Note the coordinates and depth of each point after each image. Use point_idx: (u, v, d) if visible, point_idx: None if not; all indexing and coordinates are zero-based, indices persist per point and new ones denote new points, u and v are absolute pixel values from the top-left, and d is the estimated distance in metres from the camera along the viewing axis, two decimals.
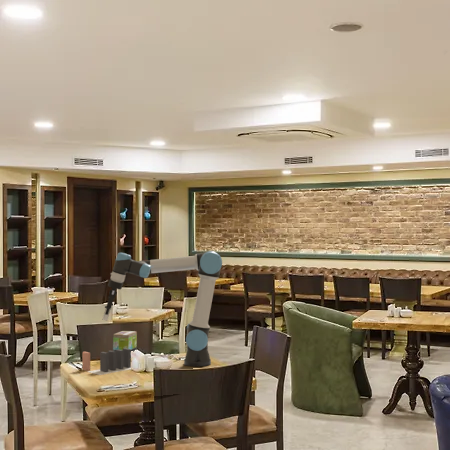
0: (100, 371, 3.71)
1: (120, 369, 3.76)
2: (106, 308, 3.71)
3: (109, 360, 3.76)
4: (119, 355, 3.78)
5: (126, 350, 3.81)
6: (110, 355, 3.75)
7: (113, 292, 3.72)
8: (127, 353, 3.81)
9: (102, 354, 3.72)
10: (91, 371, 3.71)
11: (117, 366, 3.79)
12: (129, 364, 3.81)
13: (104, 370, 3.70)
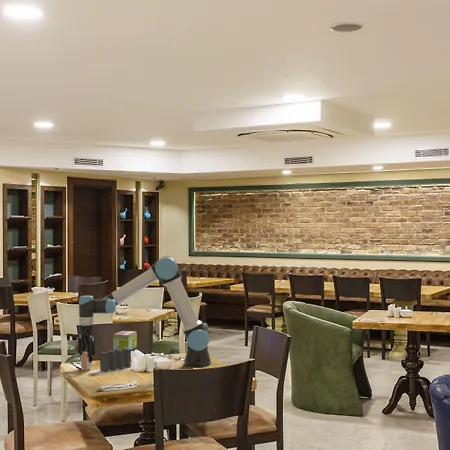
0: (100, 371, 3.71)
1: (120, 369, 3.76)
2: None
3: (109, 360, 3.76)
4: (119, 355, 3.78)
5: (126, 350, 3.81)
6: (110, 355, 3.75)
7: (93, 339, 3.71)
8: (127, 353, 3.81)
9: (102, 354, 3.72)
10: (91, 371, 3.71)
11: (117, 366, 3.79)
12: (129, 364, 3.81)
13: (104, 370, 3.70)
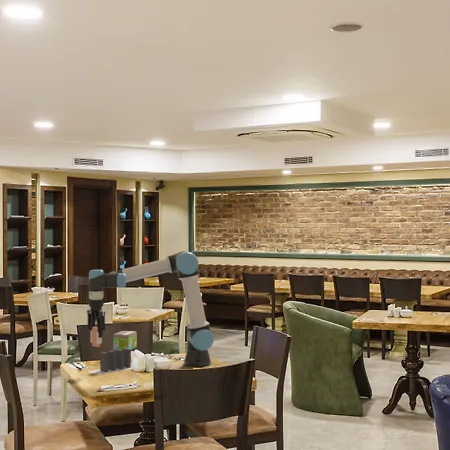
0: (100, 371, 3.71)
1: (120, 369, 3.76)
2: None
3: (109, 360, 3.76)
4: (119, 355, 3.78)
5: (126, 350, 3.81)
6: (110, 355, 3.75)
7: (103, 313, 3.64)
8: (127, 353, 3.81)
9: (102, 354, 3.72)
10: (91, 371, 3.71)
11: (117, 366, 3.79)
12: (129, 364, 3.81)
13: (104, 370, 3.70)
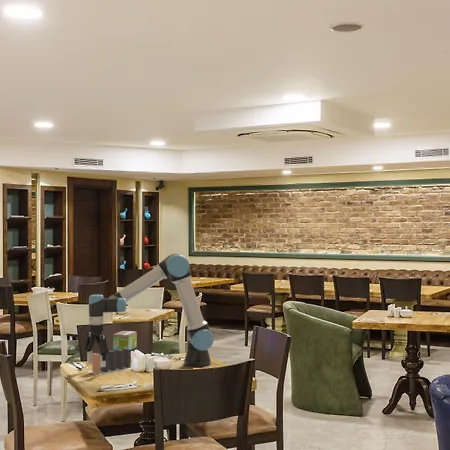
0: (100, 371, 3.71)
1: (120, 369, 3.76)
2: (101, 355, 3.63)
3: (109, 360, 3.76)
4: (119, 355, 3.78)
5: (126, 350, 3.81)
6: (110, 355, 3.75)
7: (104, 336, 3.64)
8: (127, 353, 3.81)
9: None
10: (91, 371, 3.71)
11: (117, 366, 3.79)
12: (129, 364, 3.81)
13: (104, 370, 3.70)
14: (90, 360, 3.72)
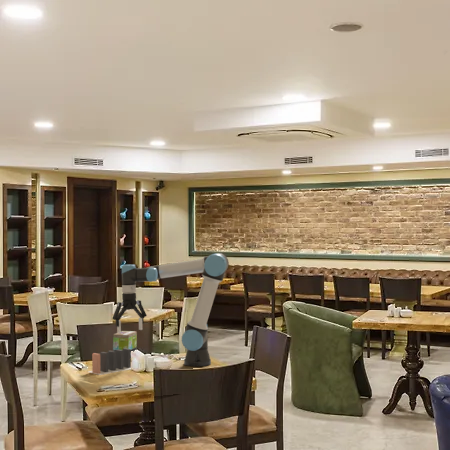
0: (100, 371, 3.71)
1: (120, 369, 3.76)
2: (141, 318, 3.87)
3: (109, 360, 3.76)
4: (119, 355, 3.78)
5: (126, 350, 3.81)
6: (110, 355, 3.75)
7: None
8: (127, 353, 3.81)
9: (102, 354, 3.72)
10: (91, 371, 3.71)
11: (117, 366, 3.79)
12: (129, 364, 3.81)
13: (104, 370, 3.70)
14: None
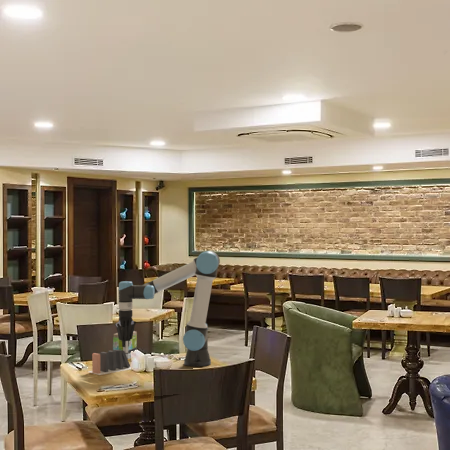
0: (100, 371, 3.71)
1: (120, 369, 3.76)
2: (127, 341, 3.82)
3: (109, 360, 3.76)
4: (118, 355, 3.77)
5: None
6: (110, 355, 3.75)
7: None
8: (122, 355, 3.78)
9: (102, 354, 3.72)
10: (91, 371, 3.71)
11: (117, 366, 3.79)
12: (128, 364, 3.80)
13: (104, 370, 3.70)
14: None
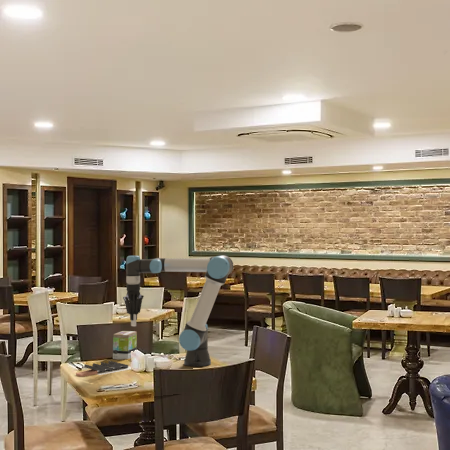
0: (100, 371, 3.71)
1: (120, 369, 3.76)
2: (135, 314, 3.86)
3: None
4: (108, 366, 3.72)
5: (112, 364, 3.75)
6: None
7: None
8: None
9: None
10: None
11: None
12: (125, 366, 3.79)
13: (102, 371, 3.69)
14: None
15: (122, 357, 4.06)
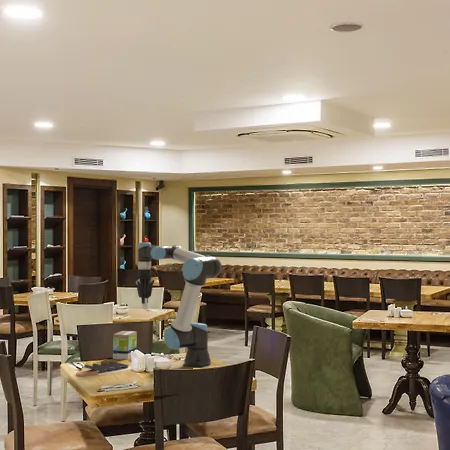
0: (100, 371, 3.71)
1: (120, 369, 3.76)
2: (146, 298, 4.07)
3: None
4: (108, 366, 3.72)
5: (112, 364, 3.75)
6: None
7: None
8: None
9: None
10: None
11: None
12: (125, 366, 3.79)
13: (102, 371, 3.69)
14: None
15: (122, 357, 4.06)
